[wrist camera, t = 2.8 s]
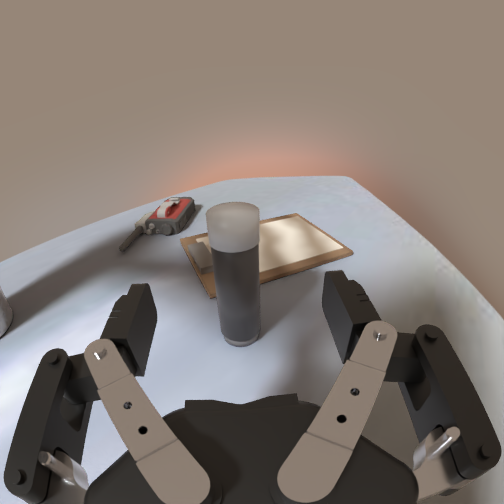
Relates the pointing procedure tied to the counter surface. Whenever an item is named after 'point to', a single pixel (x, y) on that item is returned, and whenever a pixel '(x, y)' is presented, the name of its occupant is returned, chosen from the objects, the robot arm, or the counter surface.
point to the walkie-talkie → (164, 219)
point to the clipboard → (273, 250)
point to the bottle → (236, 269)
